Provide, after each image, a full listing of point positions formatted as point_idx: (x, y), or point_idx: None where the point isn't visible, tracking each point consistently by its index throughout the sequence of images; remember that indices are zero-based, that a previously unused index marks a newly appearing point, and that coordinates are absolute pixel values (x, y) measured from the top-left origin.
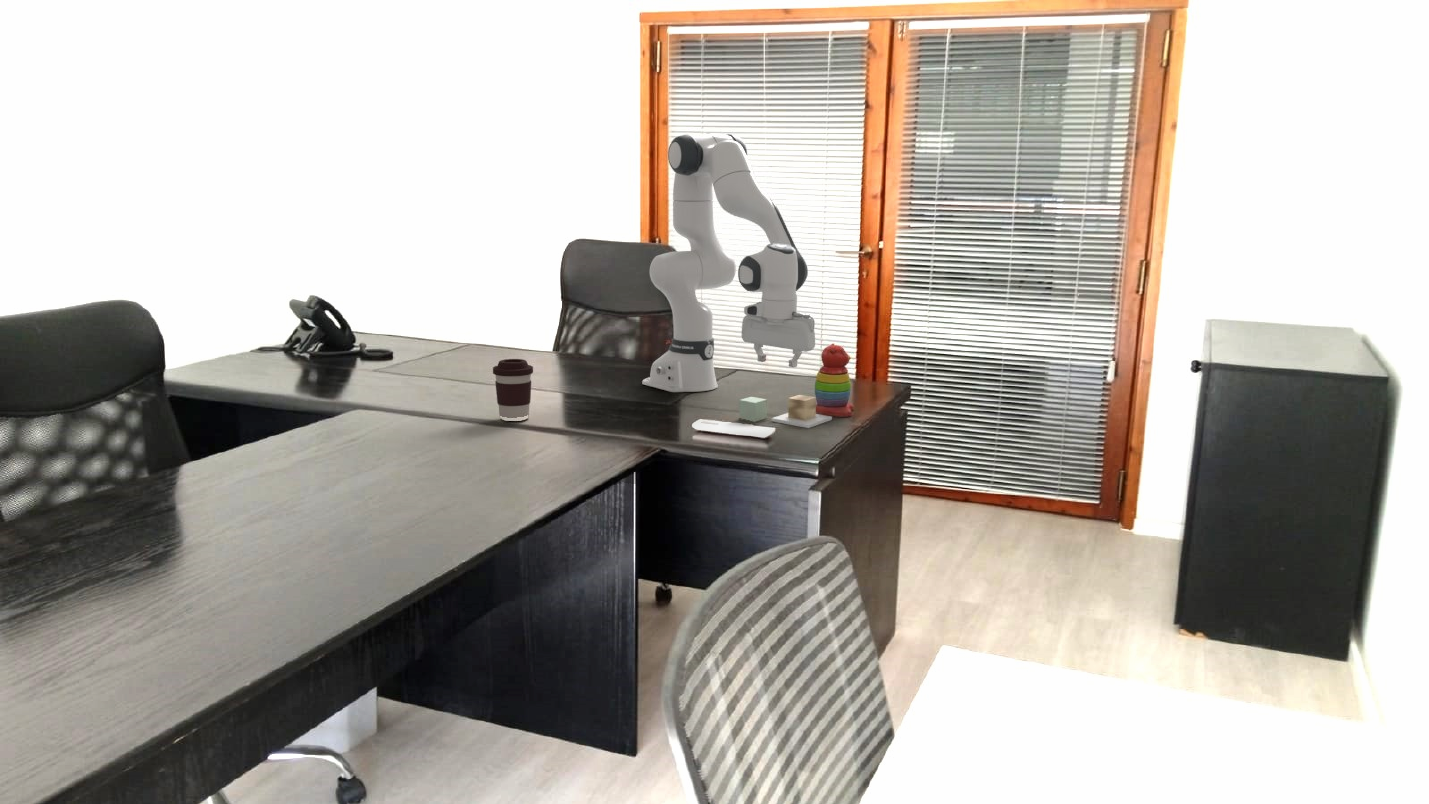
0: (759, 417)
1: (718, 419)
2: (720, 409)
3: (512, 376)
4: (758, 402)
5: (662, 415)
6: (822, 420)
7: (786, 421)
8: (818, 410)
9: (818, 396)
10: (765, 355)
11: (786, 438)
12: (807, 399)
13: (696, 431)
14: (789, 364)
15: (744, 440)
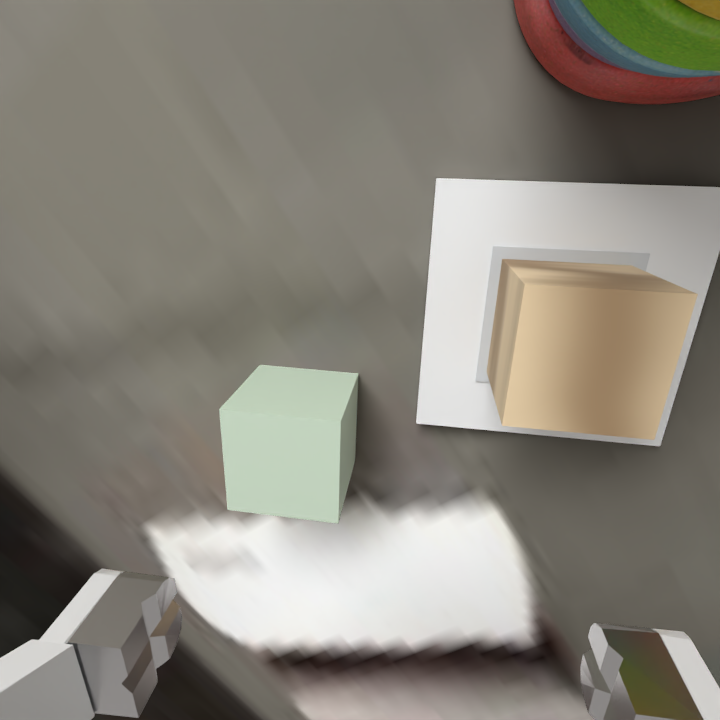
0: (354, 437)
1: (206, 502)
2: (80, 351)
3: None
4: (339, 496)
5: (16, 549)
6: (700, 306)
7: (511, 430)
8: (582, 86)
9: (617, 63)
10: (130, 649)
11: (622, 616)
12: (654, 392)
13: (267, 663)
14: (603, 715)
15: (481, 691)
